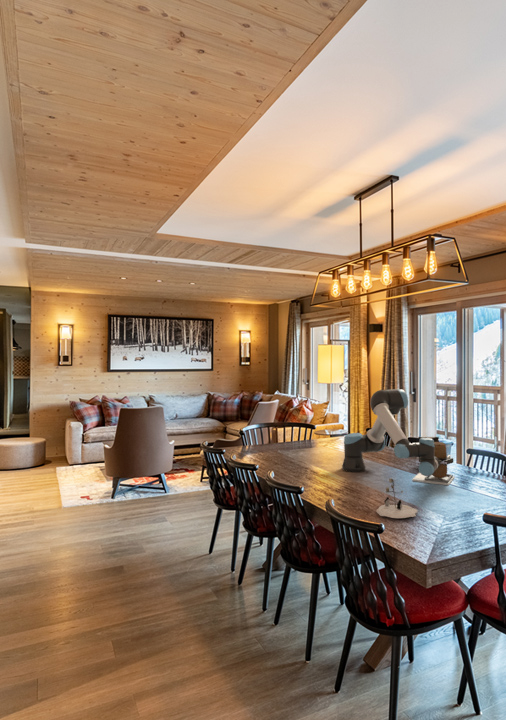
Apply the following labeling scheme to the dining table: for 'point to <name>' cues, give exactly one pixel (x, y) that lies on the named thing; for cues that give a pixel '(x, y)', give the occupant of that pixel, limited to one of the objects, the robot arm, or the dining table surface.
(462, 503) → the dining table surface
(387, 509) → the figurine
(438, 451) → the block
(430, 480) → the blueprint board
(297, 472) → the dining table surface
